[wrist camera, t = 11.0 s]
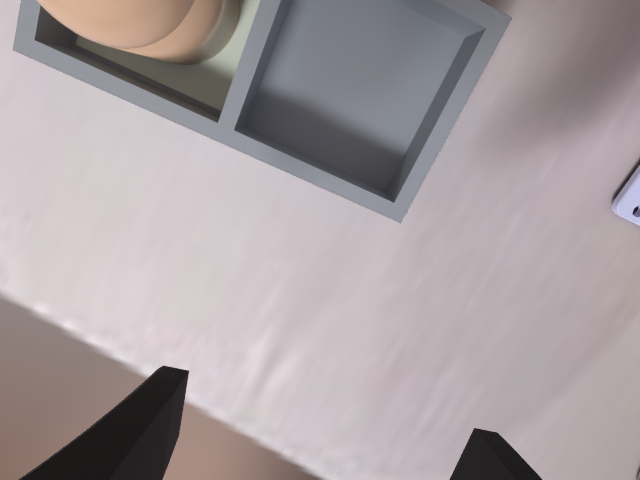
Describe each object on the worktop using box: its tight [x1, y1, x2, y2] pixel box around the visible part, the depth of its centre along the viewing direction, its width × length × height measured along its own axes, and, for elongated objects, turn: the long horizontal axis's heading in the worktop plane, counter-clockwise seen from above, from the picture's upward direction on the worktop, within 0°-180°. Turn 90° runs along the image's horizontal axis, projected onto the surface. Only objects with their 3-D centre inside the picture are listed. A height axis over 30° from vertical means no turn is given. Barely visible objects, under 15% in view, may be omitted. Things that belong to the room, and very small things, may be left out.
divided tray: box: [13, 0, 512, 223], centre depth 14 cm, size 15×8×3 cm, turn 66°
